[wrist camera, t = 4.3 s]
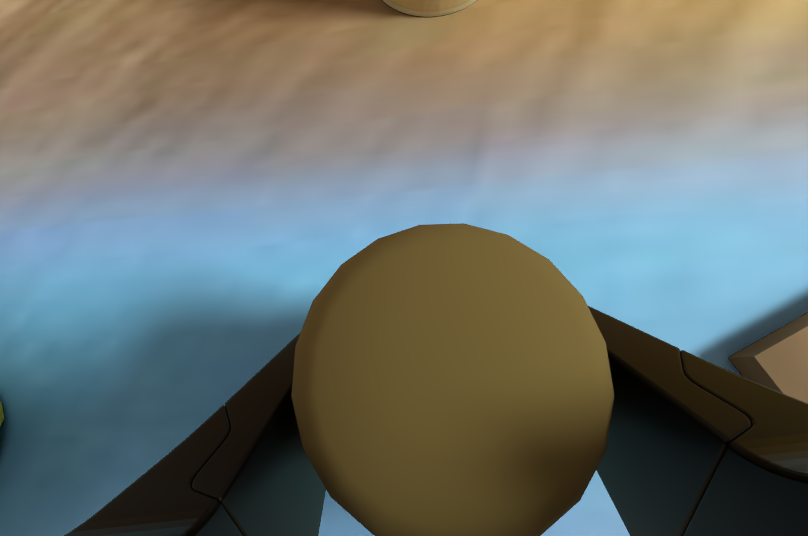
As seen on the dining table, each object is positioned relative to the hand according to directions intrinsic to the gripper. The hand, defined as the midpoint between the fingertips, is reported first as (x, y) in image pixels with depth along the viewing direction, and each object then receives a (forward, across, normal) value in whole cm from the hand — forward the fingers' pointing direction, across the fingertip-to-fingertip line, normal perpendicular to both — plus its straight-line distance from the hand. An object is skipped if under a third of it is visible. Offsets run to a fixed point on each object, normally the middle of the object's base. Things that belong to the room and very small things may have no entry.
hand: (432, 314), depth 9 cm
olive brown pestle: (+4, 0, +6) cm, 7 cm away
